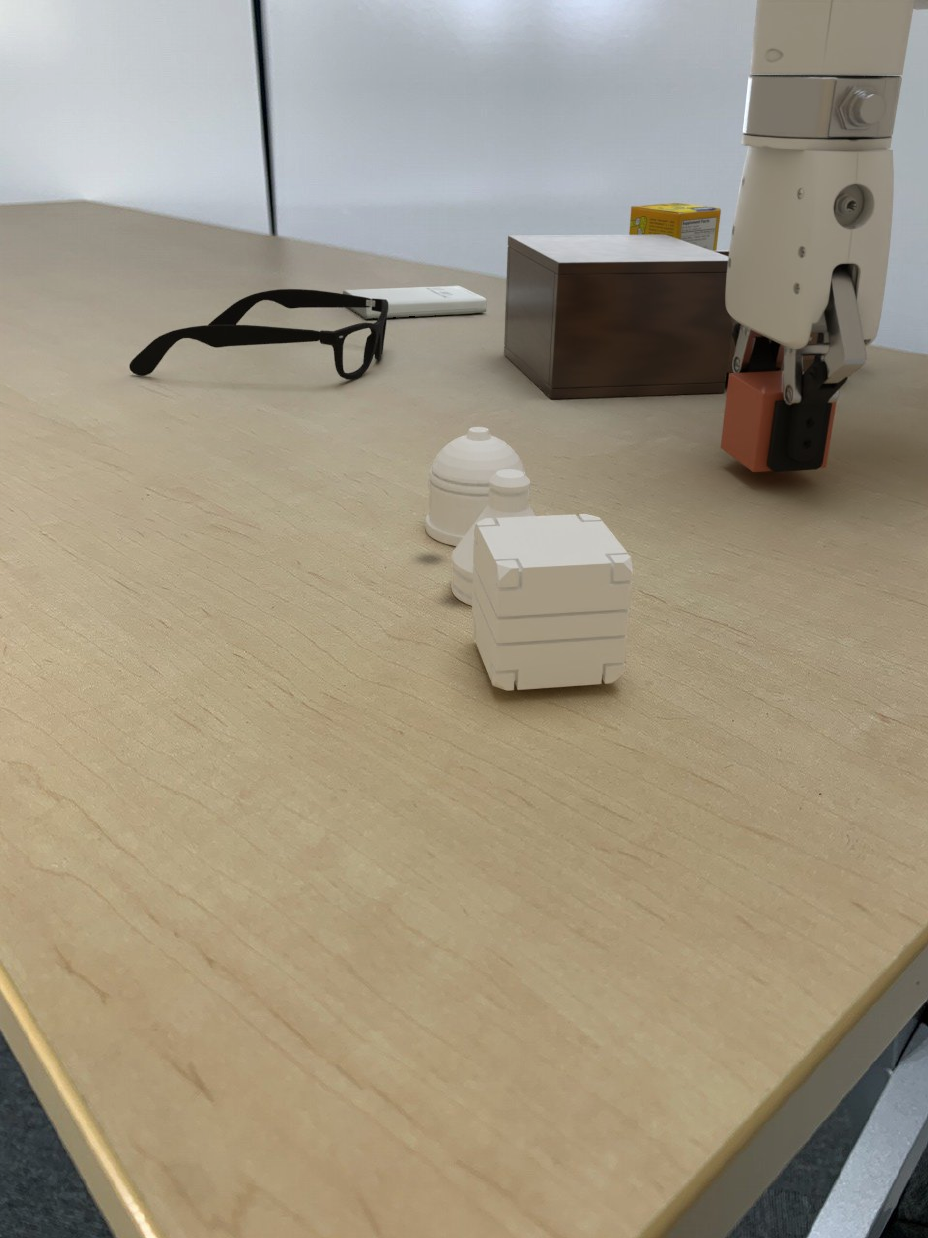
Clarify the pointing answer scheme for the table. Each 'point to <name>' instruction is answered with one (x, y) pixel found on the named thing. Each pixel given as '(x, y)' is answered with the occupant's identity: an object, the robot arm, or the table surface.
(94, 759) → the table surface
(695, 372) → the cabinet
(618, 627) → the container set
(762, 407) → the block
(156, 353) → the glasses
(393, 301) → the hard drive
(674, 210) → the supplement box
